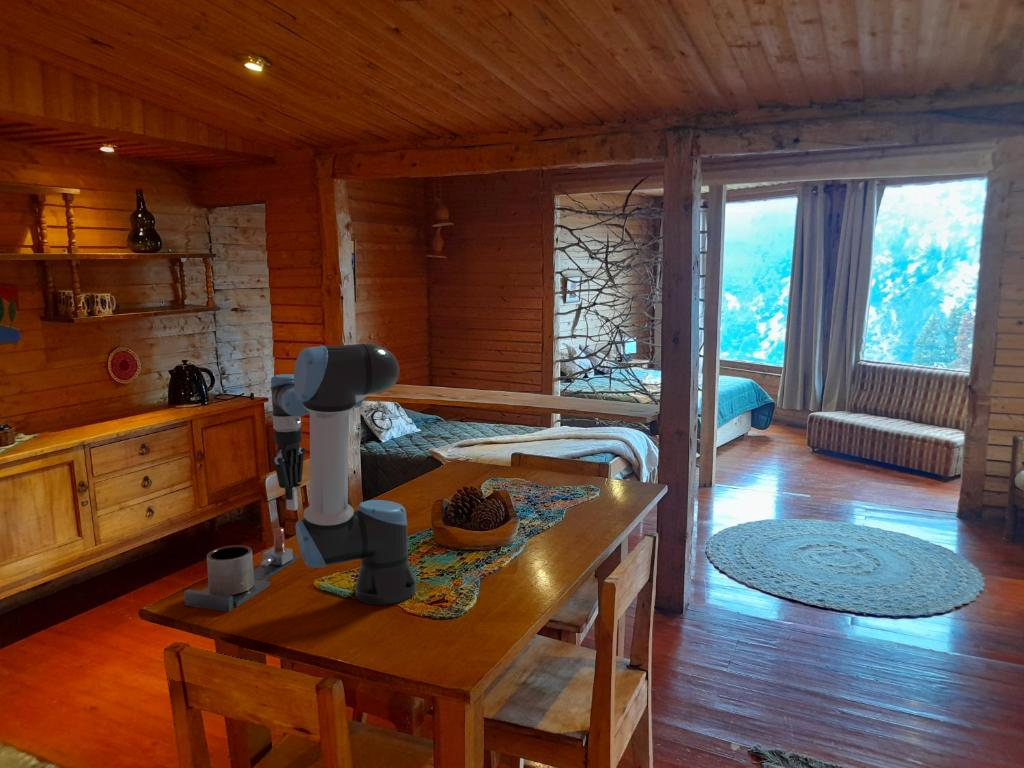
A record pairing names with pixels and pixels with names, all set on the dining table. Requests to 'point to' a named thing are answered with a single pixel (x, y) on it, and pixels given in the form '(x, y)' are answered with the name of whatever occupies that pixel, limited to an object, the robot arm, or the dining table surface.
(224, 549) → the planter
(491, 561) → the dining table surface
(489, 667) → the dining table surface
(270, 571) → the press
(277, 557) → the pink cylinder stand
